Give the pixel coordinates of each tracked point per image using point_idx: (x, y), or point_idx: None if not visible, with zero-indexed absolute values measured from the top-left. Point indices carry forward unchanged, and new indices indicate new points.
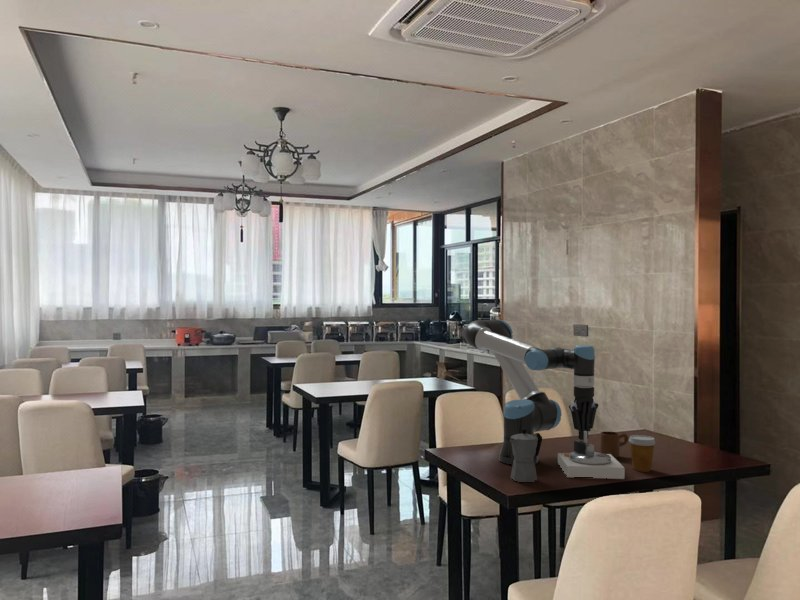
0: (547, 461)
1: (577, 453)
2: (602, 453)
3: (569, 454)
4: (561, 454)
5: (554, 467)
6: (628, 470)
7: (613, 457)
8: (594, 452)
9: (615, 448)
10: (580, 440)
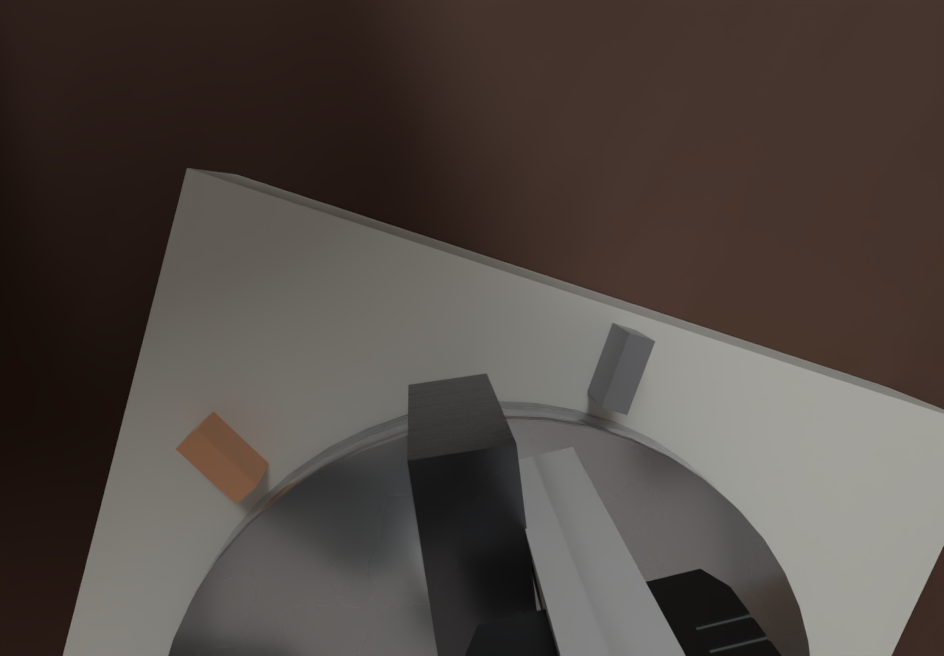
0: (114, 47)
1: (375, 569)
2: (788, 625)
3: (195, 614)
4: (196, 308)
5: (88, 385)
6: (908, 642)
7: (904, 612)
8: (702, 550)
9: None
10: (533, 565)
